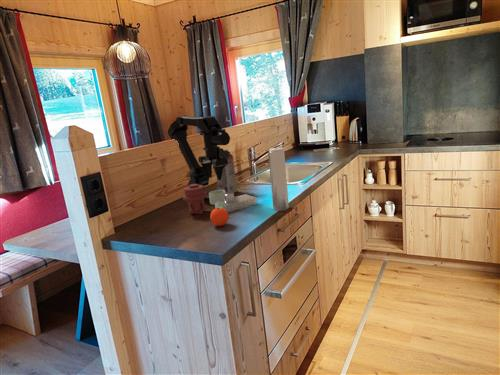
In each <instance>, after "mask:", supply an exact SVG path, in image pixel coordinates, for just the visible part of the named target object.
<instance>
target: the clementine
mask: <svg viewBox="0 0 500 375" xmlns="http://www.w3.org/2000/svg"><path fill="white" fill-rule="evenodd" d="M224 208H225V207H224ZM224 208H223V207H218V208H215V207H214V209H212V211H211V212H210V216H209V218H210V221H211V223H212V224H213V225H215V226H216V227H222V226H224V225H226V224H227V223H228V222H229V212H227V211H226V210H227V209H226V210H225V209H224Z"/></svg>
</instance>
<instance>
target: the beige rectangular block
mask: <svg viewBox="0 0 500 375" xmlns="http://www.w3.org/2000/svg"><path fill="white" fill-rule="evenodd" d="M234 193H235V192H234ZM234 193H232V192H229V193H225V194H223V195H224V200H222V201H218V202H214V203H215V205H214V209H215V208H218V207H223V208H224V207H225V208H224V209H225V210H226V209H227V210H226V211H227V212H228V213H232V212H235V211H238V210H241V209H245V208H249V207H252V206H256V205H257V204H258V202H257V197H256V196H252V195H250V194H246V193H245V194H241V195H238V196H237V195H236V196H235V194H234Z"/></svg>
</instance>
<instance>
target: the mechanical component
mask: <svg viewBox="0 0 500 375" xmlns="http://www.w3.org/2000/svg"><path fill="white" fill-rule="evenodd" d="M183 190H184V192H183V193H184V194H183V195H182V196H183V197H182V199H183V201H186V202H187V206H188V211H189V214H190V215H193V214H194V215H195V214H200V215H201V214H204V210H205V209H206V205H205V199H204V198H206V197H208V194H207V192H206V191H205V192H204V186H203V185H198V184H191V185H189V186H188V185H187V186H185V187H184V188H183Z"/></svg>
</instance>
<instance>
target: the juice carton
mask: <svg viewBox="0 0 500 375" xmlns="http://www.w3.org/2000/svg"><path fill="white" fill-rule="evenodd" d="M223 150H224V151H229V150H228V149H223ZM227 159H228V164H227V166H225V167H224V168H223V172H222V177H221V180H218V178H217V177H216V183H217V190H225V193H229V192H232V193H236V192H238V187H237V179H236V171H235V162H234V155H233V154H232V153H230V156H229V158H227Z"/></svg>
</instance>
